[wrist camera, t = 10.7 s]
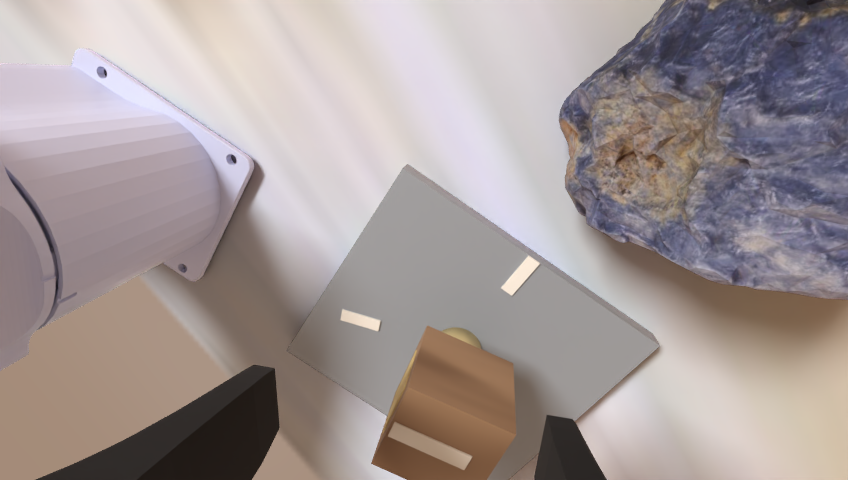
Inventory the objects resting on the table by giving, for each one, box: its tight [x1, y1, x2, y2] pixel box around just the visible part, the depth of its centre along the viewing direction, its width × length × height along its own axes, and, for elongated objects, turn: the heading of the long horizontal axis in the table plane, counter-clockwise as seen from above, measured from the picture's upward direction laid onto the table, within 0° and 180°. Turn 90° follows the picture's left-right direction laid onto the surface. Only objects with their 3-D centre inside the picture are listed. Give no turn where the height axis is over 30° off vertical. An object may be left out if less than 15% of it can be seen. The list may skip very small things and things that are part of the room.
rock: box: [559, 0, 848, 300], centre depth 14 cm, size 11×10×10 cm
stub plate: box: [287, 164, 660, 480], centre depth 21 cm, size 14×12×3 cm
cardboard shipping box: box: [371, 326, 516, 480], centre depth 17 cm, size 4×4×4 cm
